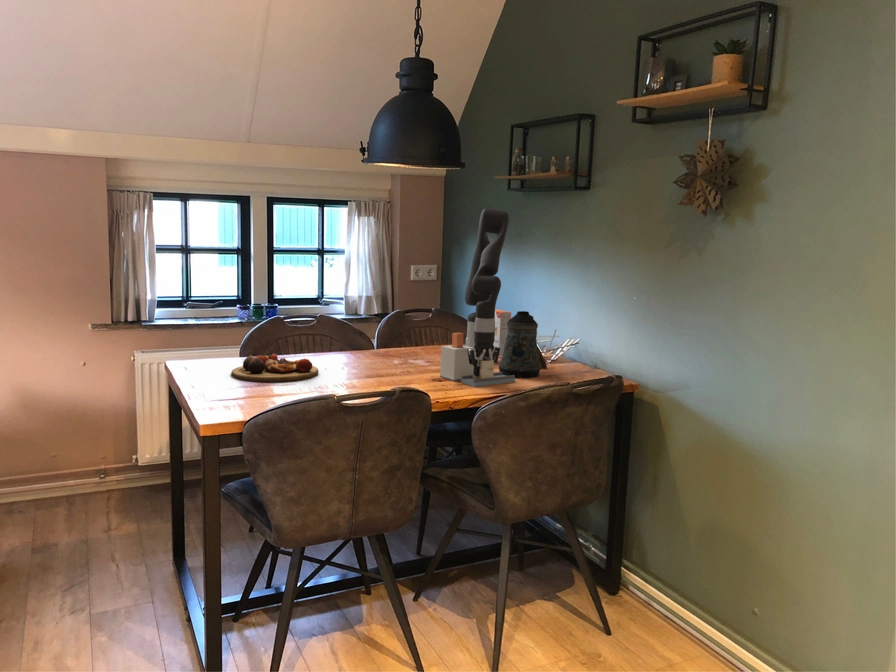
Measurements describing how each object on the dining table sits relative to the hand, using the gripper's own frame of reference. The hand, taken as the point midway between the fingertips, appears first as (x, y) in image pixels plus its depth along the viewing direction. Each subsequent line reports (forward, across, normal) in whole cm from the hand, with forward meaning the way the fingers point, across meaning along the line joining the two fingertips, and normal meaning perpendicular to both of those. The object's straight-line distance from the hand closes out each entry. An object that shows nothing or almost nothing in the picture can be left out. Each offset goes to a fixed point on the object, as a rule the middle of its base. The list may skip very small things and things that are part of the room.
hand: (482, 375), depth 260 cm
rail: (+3, -3, 0) cm, 4 cm away
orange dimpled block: (-5, +3, -12) cm, 14 cm away
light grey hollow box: (+3, +3, -12) cm, 13 cm away
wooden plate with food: (+4, +61, -49) cm, 78 cm away
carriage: (+1, 0, 0) cm, 1 cm away
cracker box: (+3, -45, -47) cm, 65 cm away
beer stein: (+3, -25, -8) cm, 26 cm away
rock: (+3, -41, -17) cm, 44 cm away
